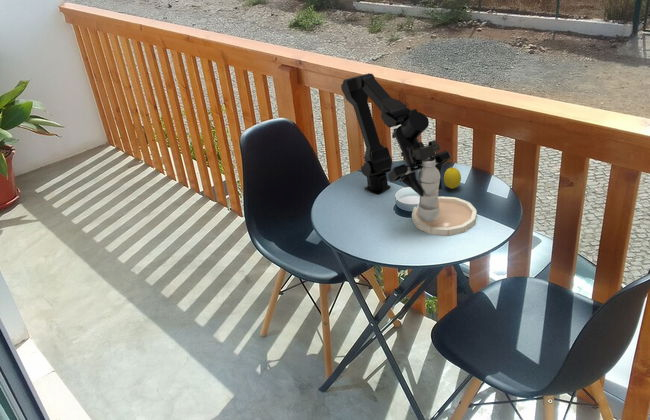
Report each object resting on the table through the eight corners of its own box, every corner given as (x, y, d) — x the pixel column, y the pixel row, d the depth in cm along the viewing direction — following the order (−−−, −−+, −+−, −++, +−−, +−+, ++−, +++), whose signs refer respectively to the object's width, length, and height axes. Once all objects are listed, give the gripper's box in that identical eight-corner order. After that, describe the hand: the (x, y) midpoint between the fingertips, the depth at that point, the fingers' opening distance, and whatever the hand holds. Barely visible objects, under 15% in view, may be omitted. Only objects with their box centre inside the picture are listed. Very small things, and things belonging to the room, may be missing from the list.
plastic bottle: (431, 210, 180) (431, 151, 170) (444, 220, 175) (445, 160, 165) (413, 217, 178) (412, 157, 168) (426, 227, 173) (426, 166, 162)
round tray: (400, 220, 184) (399, 215, 183) (438, 196, 194) (438, 190, 193) (449, 242, 171) (449, 236, 170) (488, 215, 182) (488, 209, 181)
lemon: (460, 193, 195) (461, 171, 190) (443, 192, 196) (443, 171, 192) (460, 184, 199) (461, 163, 195) (444, 184, 200) (444, 163, 196)
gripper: (391, 142, 163) (414, 193, 160) (448, 124, 169) (471, 174, 166) (378, 157, 173) (400, 206, 170) (432, 140, 179) (453, 186, 176)
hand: (431, 192), depth 170 cm, fingers closed on plastic bottle, 6 cm apart
